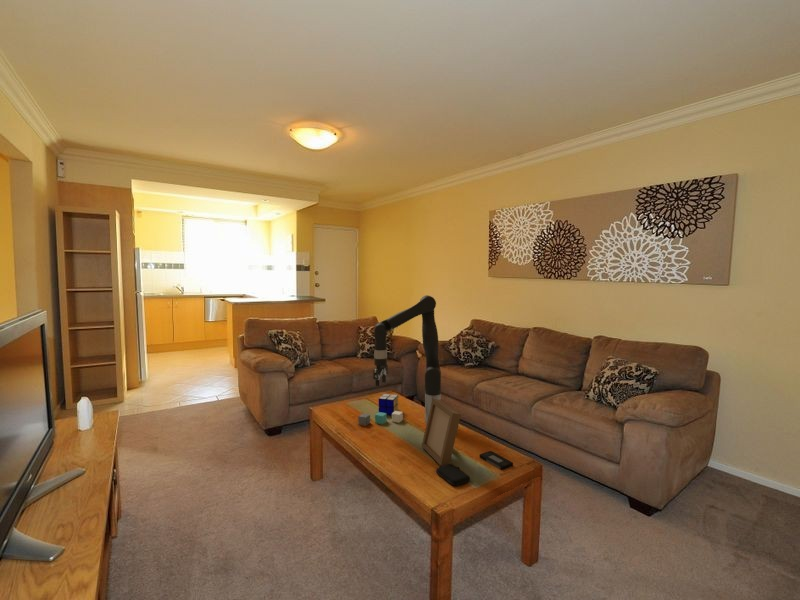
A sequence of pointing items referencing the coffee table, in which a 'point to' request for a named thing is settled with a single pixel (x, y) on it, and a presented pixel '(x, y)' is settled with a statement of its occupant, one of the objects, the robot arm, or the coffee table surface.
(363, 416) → the charcoal block
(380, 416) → the teal block
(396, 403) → the puzzle cube
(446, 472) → the carrying case or bag
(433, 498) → the coffee table surface
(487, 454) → the vhs tape
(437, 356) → the robot arm
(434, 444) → the photo frame
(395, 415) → the off-white block
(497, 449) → the coffee table surface
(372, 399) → the coffee table surface
